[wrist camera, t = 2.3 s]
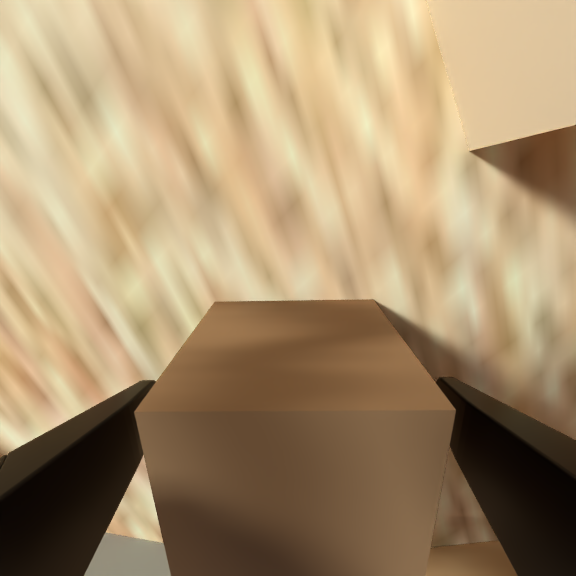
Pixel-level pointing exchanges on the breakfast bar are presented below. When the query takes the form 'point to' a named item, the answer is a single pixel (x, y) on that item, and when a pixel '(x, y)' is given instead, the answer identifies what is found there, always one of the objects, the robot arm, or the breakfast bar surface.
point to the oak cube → (470, 560)
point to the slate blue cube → (128, 557)
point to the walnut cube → (296, 444)
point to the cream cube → (508, 65)
